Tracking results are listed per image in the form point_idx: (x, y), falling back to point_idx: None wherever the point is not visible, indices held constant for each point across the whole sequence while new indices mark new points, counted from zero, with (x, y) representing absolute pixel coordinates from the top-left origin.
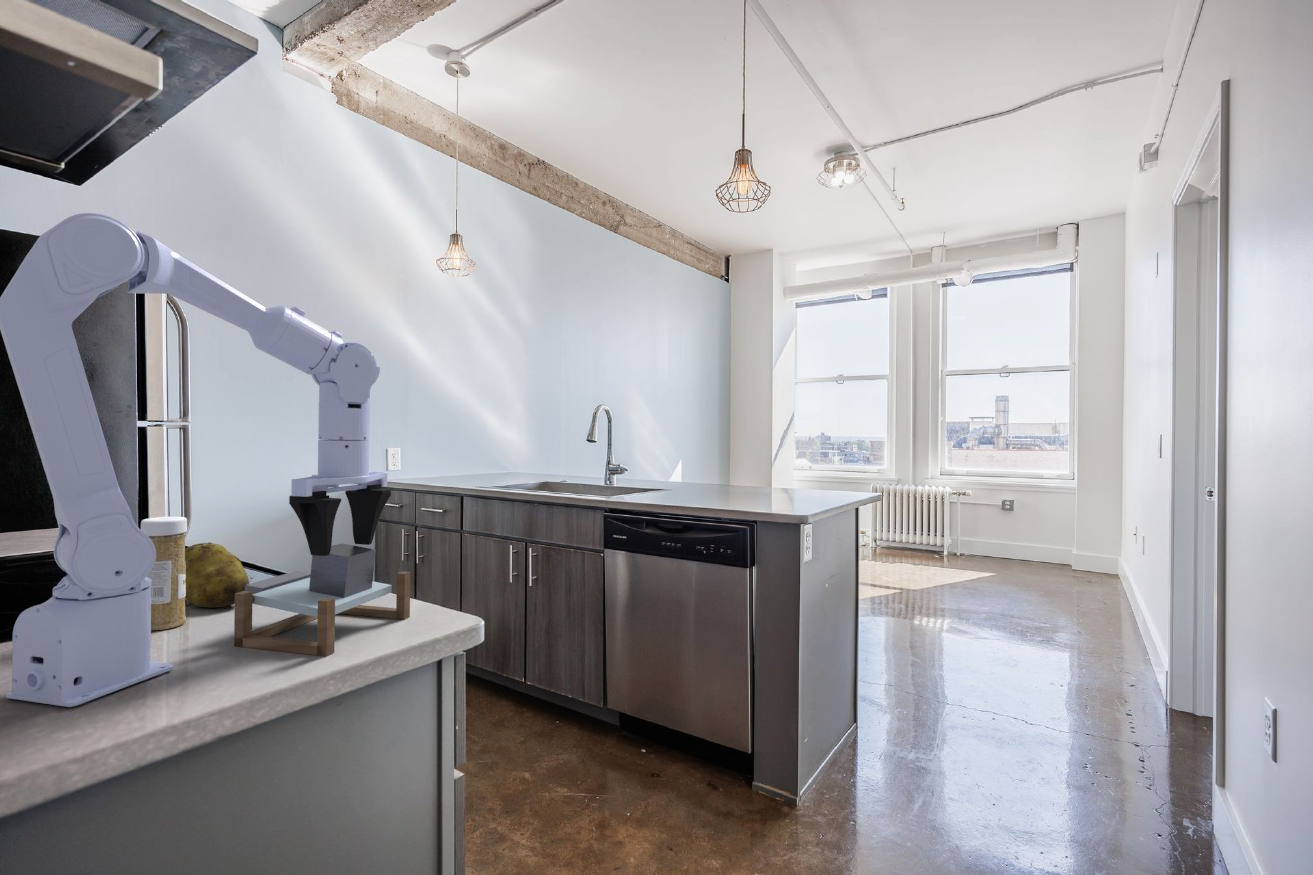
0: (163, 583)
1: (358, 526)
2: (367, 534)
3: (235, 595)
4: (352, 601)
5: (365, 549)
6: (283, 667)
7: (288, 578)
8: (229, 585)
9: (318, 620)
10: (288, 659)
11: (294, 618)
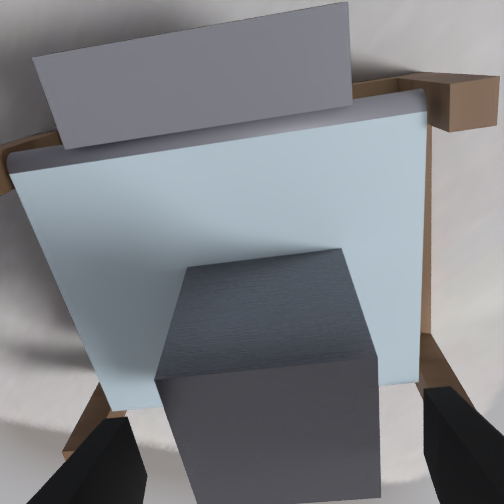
0: None
1: (471, 488)
2: (445, 496)
3: None
4: None
5: (351, 477)
6: (36, 350)
7: (224, 99)
8: None
9: (84, 412)
10: (67, 324)
11: None
